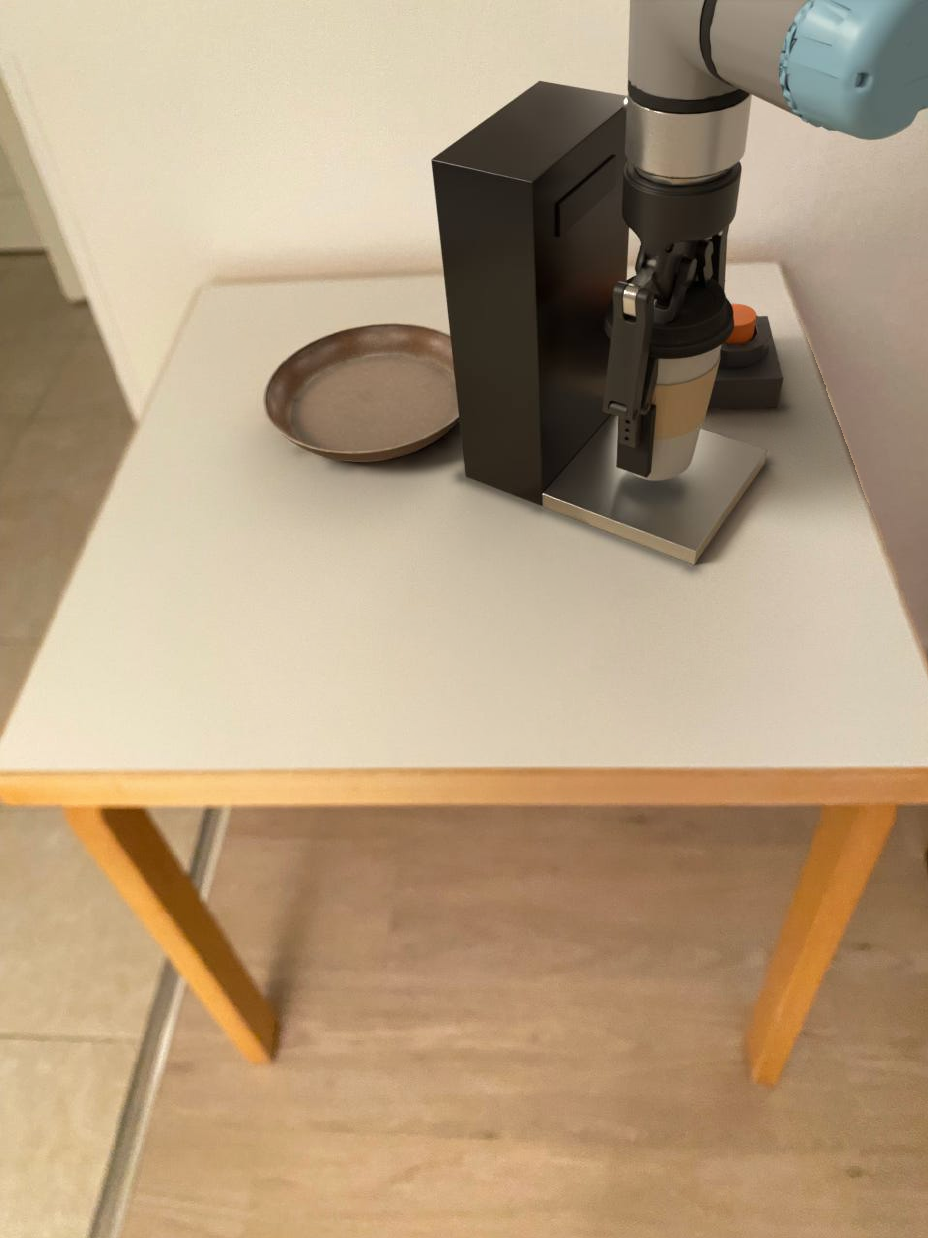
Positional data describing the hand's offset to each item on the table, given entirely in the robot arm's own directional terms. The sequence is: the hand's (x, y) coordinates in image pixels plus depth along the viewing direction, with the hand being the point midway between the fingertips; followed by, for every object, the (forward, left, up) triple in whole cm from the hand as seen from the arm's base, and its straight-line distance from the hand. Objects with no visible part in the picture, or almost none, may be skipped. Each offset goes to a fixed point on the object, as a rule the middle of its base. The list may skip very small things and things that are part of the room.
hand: (658, 438), depth 80 cm
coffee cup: (0, 0, -2) cm, 2 cm away
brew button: (+1, -17, 0) cm, 17 cm away
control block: (+1, -17, -5) cm, 18 cm away
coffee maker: (+4, 0, -5) cm, 6 cm away
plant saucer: (+28, +3, -5) cm, 29 cm away
